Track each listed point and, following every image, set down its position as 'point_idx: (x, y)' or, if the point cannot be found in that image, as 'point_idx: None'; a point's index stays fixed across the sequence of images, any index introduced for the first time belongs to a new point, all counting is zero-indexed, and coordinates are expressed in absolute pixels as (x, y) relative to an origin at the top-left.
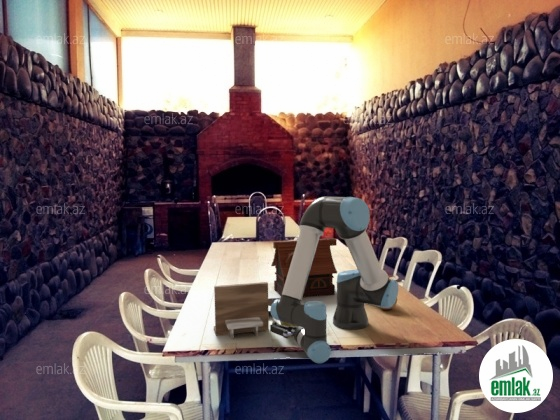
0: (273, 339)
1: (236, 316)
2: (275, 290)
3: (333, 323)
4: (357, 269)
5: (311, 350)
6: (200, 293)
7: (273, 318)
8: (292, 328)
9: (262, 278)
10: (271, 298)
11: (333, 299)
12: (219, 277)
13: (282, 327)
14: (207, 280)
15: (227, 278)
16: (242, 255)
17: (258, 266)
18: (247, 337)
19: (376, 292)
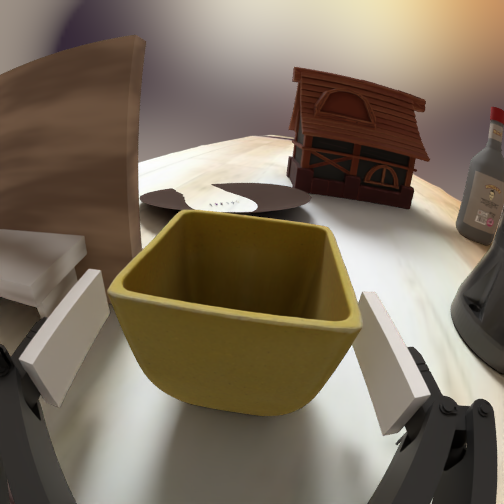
0: (79, 416)
1: (5, 218)
2: (287, 175)
3: (458, 327)
4: (478, 163)
5: None
6: (150, 163)
7: (83, 278)
8: (224, 398)
9: (277, 160)
10: (265, 184)
11: (412, 218)
12: (213, 151)
13: (9, 464)
14: (191, 152)
15: (223, 153)
16: (270, 143)
17: (282, 151)
18: (13, 329)
19: None
